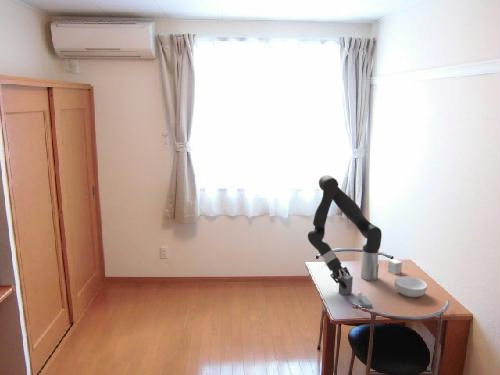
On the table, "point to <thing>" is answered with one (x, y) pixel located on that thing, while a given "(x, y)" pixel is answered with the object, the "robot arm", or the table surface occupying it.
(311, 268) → the table surface
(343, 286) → the robot arm
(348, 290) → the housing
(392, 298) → the table surface
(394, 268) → the product box
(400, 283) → the cereal bowl
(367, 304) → the stub base
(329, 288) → the table surface
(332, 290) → the table surface
